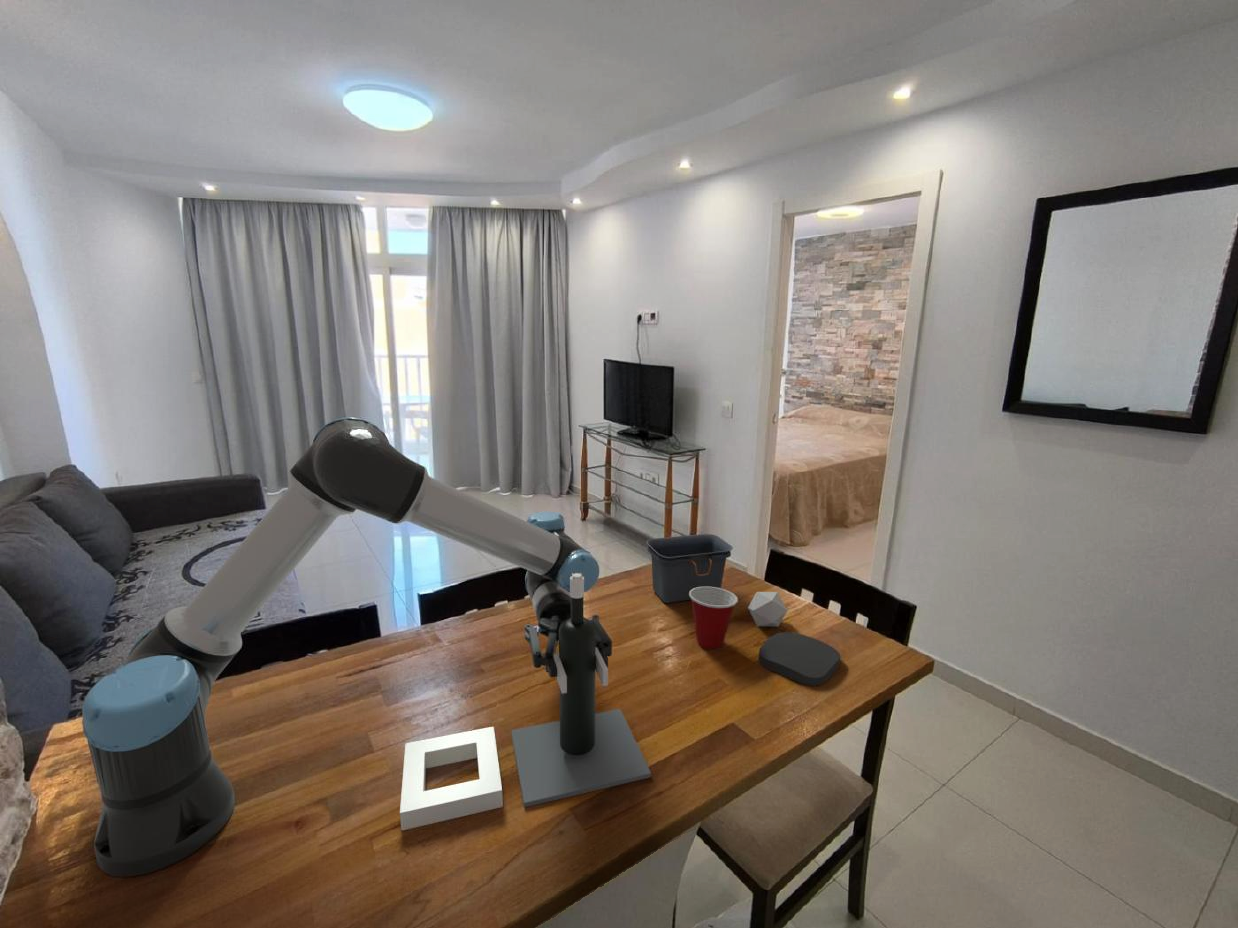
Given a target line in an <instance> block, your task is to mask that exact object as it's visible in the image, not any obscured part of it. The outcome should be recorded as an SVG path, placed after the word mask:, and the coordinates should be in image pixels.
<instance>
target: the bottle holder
mask: <svg viewBox="0 0 1238 928" xmlns="http://www.w3.org/2000/svg"><path fill="white" fill-rule="evenodd" d="M495 735H496V734H495V727H494V726H489V727H488V726H487V727H484V728H479V729H478V728H477V729H473V730H469V731H464V732H458V733H452V734H446V735H443V736H442V735H441V736H437V737H431V738H426V739H423V740H422V739H421V740H416V741H411V742H407V743H406V742H405V745H404V746H405V747H404V749H405V750H404V758H403V771H402V772H403V773H402V782H401V785H402V786H401V794H400V806H399V817H400V819H399V820H400V830H401V831H405V830H411V829H415V828H418V827H423V826H427V825H428V826H429V825H431V824H436V823H439V822H441V823H442V822H444V821H449V820H453V819H458V818H462V817H465V816H469V815H475V814H478V813H482V812H487V811H490V810H495V809H500V808H503V807H504V805H503V804H504V803H503V789H502V779H501V771H500V765H499V758H498V757H499V756H498V749H497V742H496V736H495ZM473 759H477V761H476V762H477V769H478V779H473V780H469V781H465V782H461V783H456V784H450V785H446V786H442V787H438V788H432V789H428V790H426V779H427V777H426V774H427V773H426V772H427V769H432V768H434V767H435V768H436V767H439V766H444V765H449V764H455V763H460V762H463V761H469V760H473Z"/></svg>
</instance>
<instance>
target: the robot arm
mask: <svg viewBox="0 0 1238 928" xmlns="http://www.w3.org/2000/svg"><path fill="white" fill-rule="evenodd" d="M288 475H289V481H290V482H289V483H290V486H289V487H288V488H287V489H286V491H284V493H282V495H281V496H280V497H279V499H277V501H276V502H275V503H274V504H273V505H272V506H271V508H270V509H269V510H268V511H267V512H266V513H265V515H264V516H263V517H262V519H260V521H259V522H258V523H257V524H256V525H255V527H254V528H253V529H252V530H251V531H250V532H249V534H248V535H247V536H246V537H245V538H244V539H243V540H242V541H241V543H240V544H239V545H238V546H237V548H236V549H234V551H233V552H232V553H231V555H230V556H229V557H227V559H226V560H225V562H224V563H222V565H221V566H220V568H218V570H217V571H215V573H214V574H213V575H212V577H211V578H210V579H209V580H208V581H207V582H206V584H205V585H204V586H203V587H202V588H201V590H200V591H199V592H198V593H197V595H196V596H195V597H194V598H193V599H192V600H190V603H188V604H187V605H185V606H179V607H175V608H171V609H170V610H169V611H167V613H166V614H165V615H164V616H163V617H162V618H161V619H160V620H159V622H158V623H157V624H156V625H154V627H151V629H149V630H148V631H147V632H146V633H145V634H144V635H141V637H140V638H139V639H138V640H137V641H136V642H135V644H134V645H133V646H132V648H131V650H130V652H128V655H127V658H126V660H125V663H124V664H123V665H121V666H120V667H118V668H116V669H114V671H113V672H112V673H113V674H108V675H105V676H104V677H103V678H101V679H100V680H98V682H97V683H95V685H93V687H91V688H90V690H89V691H88V693H87V694H86V696H85V698H84V700H83V703H82V710H81V712H82V713H81V714H82V719H81V720H82V721H81V724H82V732H83V734H84V737H85V738H86V741H87V745H88V749H89V752H90V757H91V761H92V764H93V765H92V766H93V769H94V773H95V776H96V780H97V784H98V785H97V786H98V789H99V792H100V795H101V801H102V806H101V810H100V815H99V819H98V824H97V828H96V833H95V836H94V837H95V838H94V841H93V849H94V850H93V851H94V855H95V858H96V863H97V866H98V868H99V869H100V870H101V871H102V872H104V873H105V874H107V875H110V876H111V877H112V876H114V877H118V878H119V877H122V878H125V877H136V876H141V875H147V874H149V873H150V874H151V873H153V872H156V871H160V870H162V869H165V868H167V867H169V866H172V865H174V864H177V863H178V862H180V861H181V860H183V859H185V858H187V857H189V856H190V855H192V854H194V853H195V852H196V851H198V850H199V849H201V848H202V847H203V846H205V845H206V844H207V843H208V842H209V841H210V840H212V839H213V838H215V836H216V835H218V833H219V832H220V831H221V830H222V829H223V828H224V826H225V825H226V824H227V823H228V821H229V819H230V817H231V816H232V814H233V811H234V808H235V802H236V799H235V792H234V787H233V783H232V782H231V781H230V779H229V778H228V776H226V774H225V773H224V771H223V770H222V769H221V768H220V766H219V765H218V764H217V762H216V761H215V760H214V759H213V756H212V753H211V752H212V751H211V747H210V741H209V735H208V731H207V729H208V728H207V725H206V710H207V707H208V703H209V700H210V695H211V692H212V688H213V685H214V683H215V681H216V680H217V678H218V677H219V676H220V674H221V673H222V672H223V671H224V669H225V668H226V667H227V666H228V665H229V663H230V662H231V661H232V660H233V658H234V657H235V656H236V655H237V654H238V652H239V651H240V650H241V649H242V646H243V639H242V635H241V633H242V632H243V631H244V630H245V628H246V627H247V626H248V625H249V624H250V622H252V620H253V618H254V617H256V615H257V614H258V613H259V612H260V610H261V609H263V607H264V606H265V605H266V603H267V602H268V601H269V599H271V597H272V596H273V595H275V592H276V591H277V590H278V588H279V587H280V586H281V585H282V584H283V583H284V582H285V580H286V579H287V578H288V577H289V576H290V574H291V573H292V572H293V571H294V570H295V569H296V568H297V566H298V565H299V563H300V562H301V561H302V560H303V559H304V558H305V556H306V555H307V554H308V553H309V552H310V550H311V549H312V548H313V547H314V546H315V545H316V544H317V542H318V541H319V539H320V538H321V537H322V536H323V535H324V533H325V532H326V531H327V530H329V529H328V528H329V527H331V525H332V524H333V522H335V520H336V519H337V518H338V517H340V516H344V515H351V514H354V513H355V512H356V510H358V511H361V512H363V513H365V514H369V515H371V516H374V517H377V518H380V519H381V520H385V521H387V522H389V523H392V524H394V525H399V524H403V523H404V522H409V523H412V524H413V525H416V526H418V527H420V528H423V529H426V530H429V531H431V532H433V533H436V534H437V535H440V536H443V537H444V538H445V537H446V538H448V539H451V540H453V541H455V542H457V543H460V544H463V545H464V546H468V547H470V548H473V549H475V550H478V551H480V552H482V553H485V554H487V555H490V556H492V557H495V558H497V559H499V560H501V561H504V562H507V563H510V564H511V565H515V566H517V567H519V568H521V569H524V570H527V571H526V572H525V573H526V574H525V578H524V581H525V590H526V592H527V594H528V596H529V598H530V599H529V600H530V601H531V602H530V603H531V604H532V607H533V610H534V613H535V615H536V616H535V617H536V620H537V622H538V623H537V625H534V626H533V625H532V624H530V623H528V624H524V639H525V640H526V641H527V642H528V644H529V647H530V652H531V658H532V659H531V660H532V664H533V667H534V668H535V669H538V668H542V666H543V667H545V672H546V673H547V674H548V676H549V677H550V678H552V679H553V678H556V681H557V682H558V686H559V687H560V690H561V693H562V694H563V693H567V676H566V674H565V671H564V668H563V665H562V663H561V660H560V658H559V652H557V647H558V645H559V628H560V626H561V624H562V623H563V622H564V621H565V620H567V619H569V618H571V596H570V577H571V576H572V573H573V574H575V573H579V574H580V573H582V576H583V577H584V594H585V593H586V592H588V591H590V590H591V589H592V588H594V586H595V585H596V582H597V581H598V579H599V576H600V565H599V562H598V561H597V560H596V558H595V557H594V556H593V555H592V554H591V552H590V551H588V550H586V549H584V548H583V547H582V546H581V545H579V544H578V543H577V542H576V541H575V540H574V539H573V538H572V537H570V536H569V535H568V534H566V533H565V528H566V526H565V521H564V516H563V515H562V514H561V513H558V512H557V511H556V512H555V511H540V512H539V511H538V512H535V513H531V514H530V515H529V516H527V519H526V520H524V519H523V518H520V517H517V516H516V515H513V514H511V513H509V512H507V511H504V510H502V509H501V508H498V507H495V506H494V505H492V504H490V503H488V502H486V501H484V500H481V499H479V498H476V497H474V496H472V495H471V494H468V493H467V492H463V491H462V490H460V489H457V488H455V487H453V486H451V485H449V484H447V483H445V482H442V481H440V480H438V479H436V478H434V477H432V476H430V475H429V472H428V470H427V467H426V466H424V465H422V464H419V463H417V462H416V461H414V460H412V459H410V458H408V457H407V456H406V455H404V454H402V452H400V451H398V450H397V448H395V447H394V446H393V445H392V444H391V442H390V441H389V439H388V437H387V435H386V434H385V432H384V431H382V430H381V429H380V428H379V427H378V426H377V425H375V424H373V423H372V422H370V421H368V420H366V419H362V418H359V417H341V418H337V419H334V420H332V421H331V422H328V423H326V424H325V425H324V426H322V427H321V428H320V429H319V430H318V431H317V433H316V434H315V435H314V438H313V441H312V444H311V445H310V446H309V448H308V449H307V450H306V451H304V453H303V454H302V456H300V458H299V459H298V460H297V462H296V463H295V464H294V465H293V467H291V469H289V471H288ZM587 619H588V620H590V621H591V622H592V623H593V625H594V627H595V631H596V638H595V673H597V676H598V678H599V681H600V683H601V684H602V687H607V686H609V658H608V657H611V656H612V655H613V654H612V653H613V641H612V639H611V637H610V636H609V634H608V633H607V632H606V630H605V628H604V627H603V625H602V624H601V622H600V616H599V615H598V614H593V615H592V617H591V618H587ZM539 635H542V636H544V637H546V638H548V639H547V644H546V648H545V653H543V652H542V650H541V646H540V641H539ZM556 652H557V653H556Z"/></svg>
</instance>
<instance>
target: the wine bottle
mask: <svg viewBox="0 0 1238 928" xmlns="http://www.w3.org/2000/svg"><path fill="white" fill-rule="evenodd" d="M570 596H571V618H569V619H567V620H565V621H564V622H563V623H562V624H561V626H560V628H559V641H558V654H559V658H560V660H561V663H562V665H563V668H564V671H565V674H566V676H567V693H563V694H562V693H561V690H560V687H559V690H558V691H559V692H558V693H559V697H558V698H559V721H560V746H561V748H562V750H563V751H564V752H566V753H567V754H570V755H583V754H586V753H588V752H589V751H591V750H592V748H593V747H594V745H595V714H596V669H595V638H596V631H595V627H594V625H593V623H592V622H591V621H590V620H588V619H589V618H586V617H584V596H585V593H584V577H583V576H582V573H580V574H579V573H575V574H573V573H572V576H571V577H570Z"/></svg>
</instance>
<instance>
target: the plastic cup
mask: <svg viewBox="0 0 1238 928" xmlns="http://www.w3.org/2000/svg"><path fill="white" fill-rule="evenodd" d="M689 596H690V598H691V600H690V601H691V608H692V612H693V614H692V615H693V622H694V630H695V635H696V641H697V644H698V646H699V647H701V648H703V649H706V650H719V649H721V648H722V646H723V644H724V643H725V639H726V634H727V632H728V628H729V624H730V621H731V618H732V614H733V612H734V611H733V610H734V608H735V605H736V604H737V603H738V601H739V598H738V596H736V595H735V593H733V592H732V591H729V590H728V589H725V588H722V587H721V588H717V587H709V586H708V587H697V588H693V589H692V590H690V592H689Z"/></svg>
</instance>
